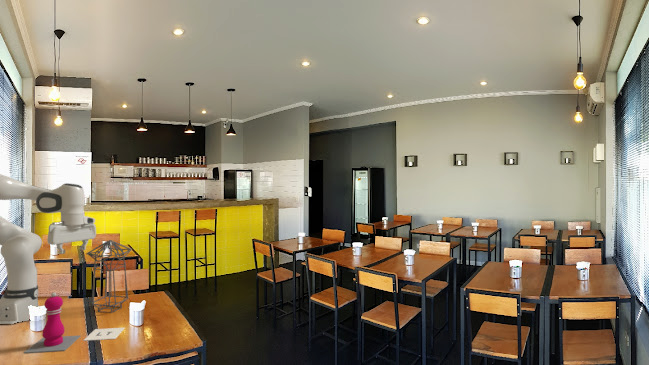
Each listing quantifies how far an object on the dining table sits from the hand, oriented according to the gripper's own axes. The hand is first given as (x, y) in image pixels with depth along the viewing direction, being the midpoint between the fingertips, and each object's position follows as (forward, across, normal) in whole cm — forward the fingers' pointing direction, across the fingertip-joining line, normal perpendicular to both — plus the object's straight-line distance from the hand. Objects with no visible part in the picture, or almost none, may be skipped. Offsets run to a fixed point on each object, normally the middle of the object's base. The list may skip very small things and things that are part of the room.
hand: (72, 251), depth 173 cm
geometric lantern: (+33, +22, +4) cm, 40 cm away
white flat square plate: (+33, -1, -20) cm, 39 cm away
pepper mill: (+33, -16, -11) cm, 38 cm away
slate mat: (+33, -16, -11) cm, 38 cm away
